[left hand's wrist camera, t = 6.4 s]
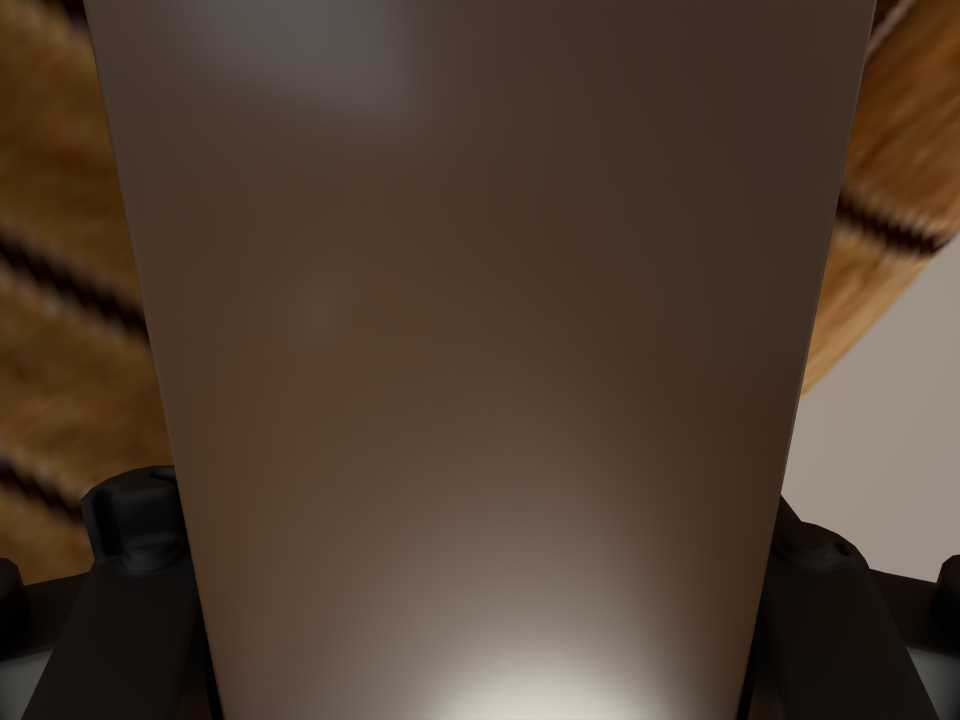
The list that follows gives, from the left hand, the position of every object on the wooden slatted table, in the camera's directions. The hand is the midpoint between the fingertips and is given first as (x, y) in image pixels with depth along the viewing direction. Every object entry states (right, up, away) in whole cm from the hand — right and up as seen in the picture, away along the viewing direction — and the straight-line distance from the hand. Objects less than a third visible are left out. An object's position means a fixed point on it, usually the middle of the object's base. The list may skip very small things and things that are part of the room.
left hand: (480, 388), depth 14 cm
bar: (0, +11, -4) cm, 11 cm away
